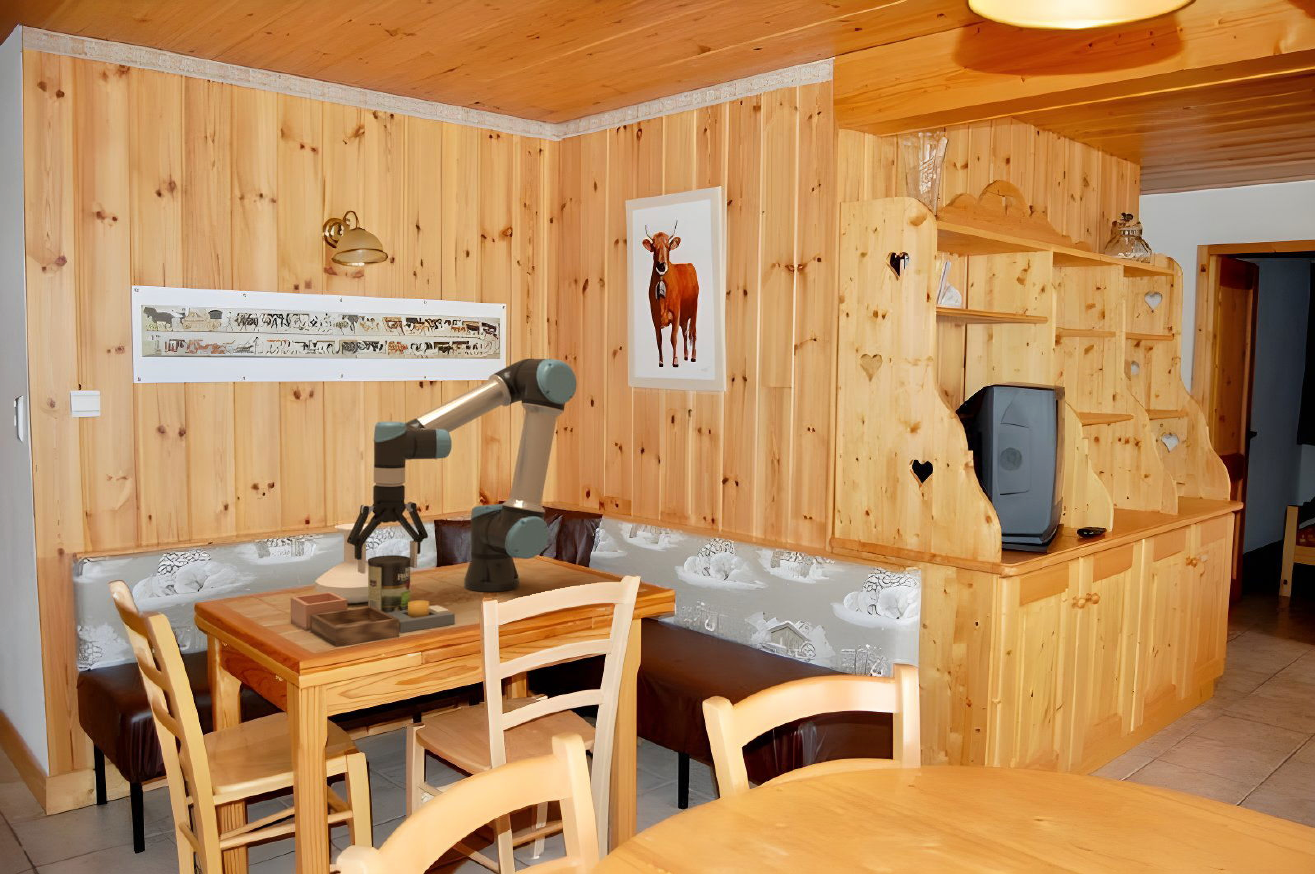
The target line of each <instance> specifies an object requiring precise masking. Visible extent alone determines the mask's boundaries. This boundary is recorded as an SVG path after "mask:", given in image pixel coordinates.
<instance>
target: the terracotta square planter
mask: <svg viewBox="0 0 1315 874" xmlns="http://www.w3.org/2000/svg"><path fill="white" fill-rule="evenodd" d="M341 610H348V603H347V599H345V598H343V597H341V596H339V595H337V594H335V593H333V592H326V593H318V592H317V593H312V594H303V595H299V596H291V597H290V622H291V623H292V624H294V625H295V626H297V627H298V628H301V629H302V630H304V631H307V632H308V631H311V619H310V615H313V614H320V613H327V612H334V611H341Z"/></svg>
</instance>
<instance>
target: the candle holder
mask: <svg viewBox="0 0 1315 874" xmlns="http://www.w3.org/2000/svg"><path fill="white" fill-rule="evenodd" d="M354 524H355V522H354V523H352V522H351V523H344V524H343V523H342V524H336V525H334V528H335V529H336V530H337V531H338V532H340V533H341V534H342V535H343V561H342V562H340V563H339V564H337V565H335V566H333V567H332V568H330V569H329V570H327V571H325V572H324V573H323V574H322V575H320V576H319V577H318V578H317V579H316V580H315V581H314V591H316V592H317V594H318V593H326V592H333V593H335V594H337V595H339V596H341V597H343V598H345V599H347V604H361V603H364V604H365V603H368V560H367V559H366V560H365V573H364V574H362V573H360V572H358V560H357V559H355V546H354V545H352V544H349V543H347V539H348V537H349V535H350V533H351V531H352V529H353V527H354ZM368 524H369V523H367V522H365V524H364V526H363V528H362V530H361V532H362V531H363V530H364V529H365V527H366V526H367V525H368ZM361 532H360V534H361ZM362 546H365V547H366V548H367V540H366V541H365V543H364V544H363V545H362Z"/></svg>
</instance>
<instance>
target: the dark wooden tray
mask: <svg viewBox="0 0 1315 874" xmlns="http://www.w3.org/2000/svg"><path fill="white" fill-rule="evenodd" d="M310 619H311V630H310V633H312V634H313V635H315V636H317V637H318V638H320V639H322V640H324V641H325V642H327V643H329V644H330V645H333V646H334V647H341V646H348V645H354V644H361V643H366V642H372V641H378V640H384V639H390V638H392V639H393V638H397V637H400V632H399V619H398V618H396V617H394V616H392V615H389V614H387V613H385V612H383V611H381V610H379V609H377V608H375V607H373V606H369V607H368V606H364V607H357V608H349V609H348V608H347V610H341V611H334V612H327V613H320V614H313V615H310Z"/></svg>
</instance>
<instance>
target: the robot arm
mask: <svg viewBox="0 0 1315 874" xmlns="http://www.w3.org/2000/svg"><path fill="white" fill-rule="evenodd" d="M577 384H578V383H577V377H576V374H575V372H574V371H573V369H572V367H571V366H570V365H569V363H567V362H565V361H563V360H561V359H554V358H525V359H521V360H518V361H516V362H514V363H512V364H510V365H508V366H506V367H504V368H502V369H500V370H499V371H496V372H495V373H493V374H491V375H489V377H488V380H487V381H485V382H483V383H481V384H479V385H478V386H476V387H473V388H472V389H470V390H468V391H466V392H464V393H461V394H460V395H458V396H456V397H454V398H452V399H451V400H448V401H446V402H444V403H443V404H441V405H438V406H436V407H435V408H433V409H431V410H429V411H427V412H425V413H422V414H421V415H420V416H417V417H415V418H414V419H411V420H410V421H407V422H404V421H389V420H387V421H383V420H382V421H378V422H376V424H375V426H374V431H373V432H374V433H373V434H374V435H373V439H372V440H373V483H374V484H375V485H374V486H373V487H372V488H373V489H372V490H373V491H372V492H373V493H372V494H373V495H372V497H373V498H372V501H373V502H372V503H373V504H371V505H365V504H361V505H360V507H359V509H360V510H359V515H358V516H357V518H356V520H355V522H354V523H355V524H354V527H353V529H352V531H351V533H350V535H349V537H348V539H347V543H349V544H352V545H354V546H355V559H357V560H358V572H360V573H362V574H364V573H365V560H366V561H367V546H366V547H365V546H362V545H363V544H364V543H365V541H366V542H367V541H368V539H369V538H370V536H371V535H372V533H373V532H374V531H375V530H376V528H377V527H378V526H380V524H381V523H384V524H385V523H386V524H387V523H397V522H398V523H399V524H400V525H401V527H402V528H403V529H404V530H405V531H406V533H407V534H408V535H409V536H410V537H411V538H412V540H410V541H409V558H411V562H410V568H413V569H417V568H418V555H420V554H421V545H422V542H423V541H424V540H426V539H428V537H429V535H428V531H427V529H426V527H425V525H424V523H423V521H422V518H421V517H420V515H419V512H418V506H417V503H415V502H412V501H409V502H408V503H405V500H406V499H405V498H406V497H405V495H406V487H405V485H404V484H405V482H406V461H408V460H410V461H411V460H438V459H445V458H448V456H449V455H450V453H451V451H452V447H453V445H452V444H453V443H452V437H451V434H450V433H451V432H453V431H455V430H457V429H459V428H461V427H462V426H464V425H466V424H468V423H470V422H472V421H474V420H476V419H478V418H479V417H482V416H483V415H485V414H487V413H489V412H490V411H493V410H494V409H496V408H500V406H503V407H509V406H510V405H512V404H514V403H517V402H521V406H522V408H523V409H524V411H525V412H524V413H525V415H524V419H523V424H522V431H521V436H520V441H519V446H518V450H517V451H518V452H517V457H516V461H515V466H514V468H515V469H514V472H513V478H512V483H511V489H510V493H509V498H508V499H507V500H506V501H505V502H503V503H500V504H499V503H498V504H483V505H477V506H474V507H473V508H472V509H471V514H470V561H469V564H468V566H467V570H466V573H465V576H464V588H465V589H466V590H470V591H475V592H492V593H493V592H504V591H511V590H515V589H517V588H518V587H519V586H520V577H519V574H518V571H517V567H516V565H515V564H516V563H515V562H514V559H524V560H528V559H529V560H530V559H533V558H535V557H537V556H538V555H539V554H540V553H542V552H543V551H544V550H545V548H546V547H547V545H548V542H549V539H550V538H549V537H550V529H549V527H548V526H547V522H545V521H544V520H545V514H546V510H545V508H544V507H543V505H542V500H543V494H544V489H545V483H546V479H547V473H548V467H549V461H550V457H551V451H552V446H553V441H554V436H555V429H556V424H557V419H558V417H559V416H560V415H562V414H563V413H564V411H565V406H566V403H567V402H569V401H570V400H572V399H573V398H574V396H575V394H576V390H577ZM405 511H407V512H408V514H409V516H410V518H411V521H412V522H413V525H414V526H415V528H414V527H413V525H411V524H410V522H409V521H408V520H407V517H405V515H404V512H405ZM371 513H373V516H371V518H370V520H369V522H368V523H367V520H368V518H369V515H370V514H371ZM365 523H367V524H368V525H367V526H366V527H365V529H364V530H363V531H362V532H361V530H362V528H363V526H364V524H365ZM360 532H361V534H360Z"/></svg>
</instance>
